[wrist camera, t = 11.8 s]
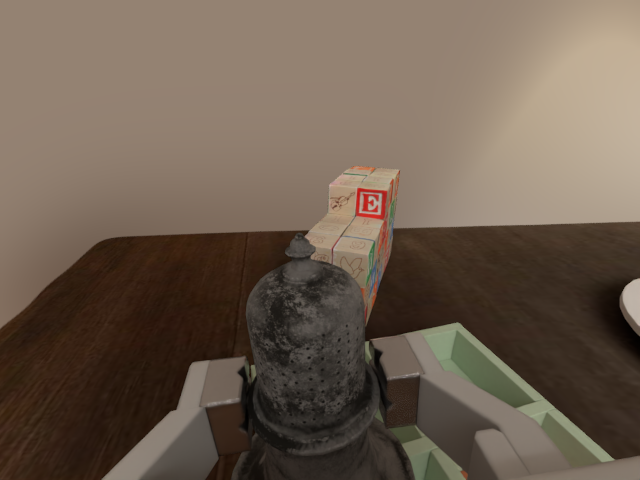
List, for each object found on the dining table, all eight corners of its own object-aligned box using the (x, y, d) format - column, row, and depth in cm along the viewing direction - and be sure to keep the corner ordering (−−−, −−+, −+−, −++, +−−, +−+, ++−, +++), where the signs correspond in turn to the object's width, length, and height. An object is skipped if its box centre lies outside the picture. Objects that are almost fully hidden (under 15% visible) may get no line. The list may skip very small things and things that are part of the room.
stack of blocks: (360, 349, 31) (371, 218, 26) (294, 334, 33) (294, 208, 28) (390, 254, 50) (400, 167, 45) (348, 247, 51) (353, 163, 47)
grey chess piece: (437, 517, 13) (477, 212, 8) (356, 737, 9) (334, 377, 4) (312, 435, 16) (286, 185, 11) (208, 566, 12) (96, 256, 7)
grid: (703, 612, 15) (741, 570, 14) (340, 861, 10) (346, 831, 9) (451, 354, 31) (458, 322, 29) (253, 401, 25) (250, 365, 24)
